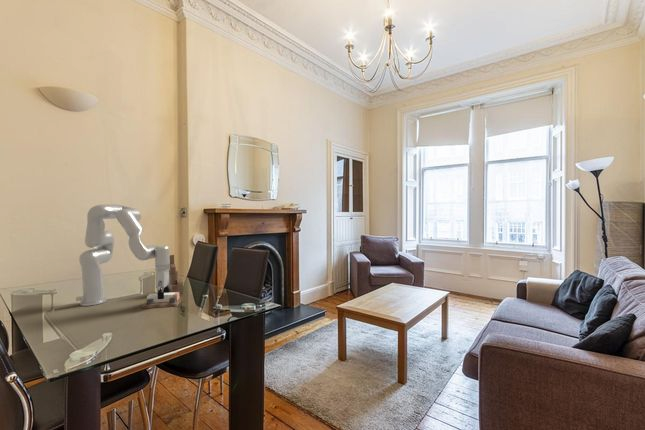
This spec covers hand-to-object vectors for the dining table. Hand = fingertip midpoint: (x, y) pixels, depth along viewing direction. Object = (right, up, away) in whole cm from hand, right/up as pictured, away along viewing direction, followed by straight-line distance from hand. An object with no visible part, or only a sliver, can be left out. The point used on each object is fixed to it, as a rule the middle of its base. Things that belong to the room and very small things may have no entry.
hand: (163, 296), depth 178 cm
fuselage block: (0, -3, 0) cm, 3 cm away
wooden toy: (-5, -4, +24) cm, 24 cm away
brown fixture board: (0, -4, 0) cm, 4 cm away
